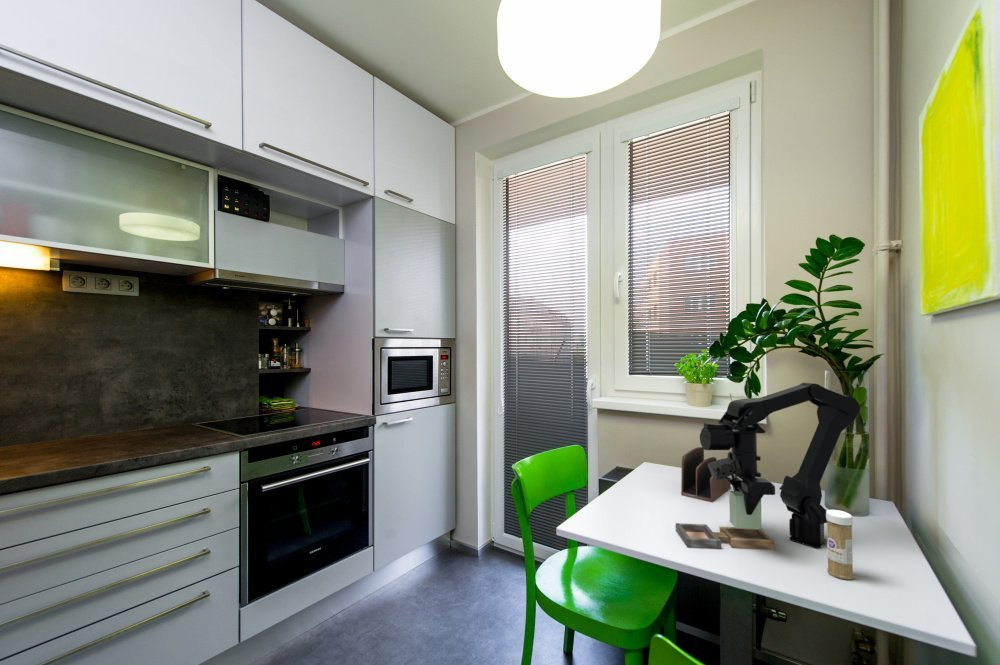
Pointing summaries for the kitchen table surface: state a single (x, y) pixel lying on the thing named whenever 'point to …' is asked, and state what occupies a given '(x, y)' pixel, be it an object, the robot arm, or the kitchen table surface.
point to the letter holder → (700, 477)
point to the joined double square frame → (723, 537)
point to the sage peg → (743, 512)
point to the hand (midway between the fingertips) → (745, 511)
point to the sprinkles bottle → (839, 544)
